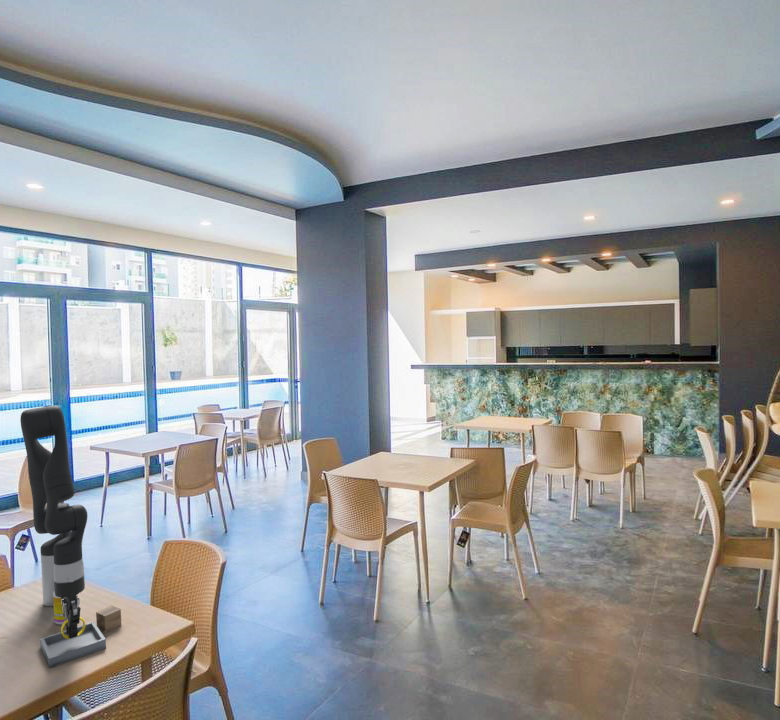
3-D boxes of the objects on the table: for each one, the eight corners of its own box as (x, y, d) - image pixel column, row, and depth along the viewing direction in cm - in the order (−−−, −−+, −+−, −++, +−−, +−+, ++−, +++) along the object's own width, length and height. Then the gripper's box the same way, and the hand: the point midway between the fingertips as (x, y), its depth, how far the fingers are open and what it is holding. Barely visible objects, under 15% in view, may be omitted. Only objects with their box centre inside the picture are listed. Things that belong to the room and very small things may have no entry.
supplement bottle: (67, 626, 170) (65, 585, 170) (49, 624, 171) (47, 584, 171) (83, 615, 176) (81, 576, 176) (65, 614, 178) (63, 575, 177)
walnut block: (96, 628, 168) (96, 612, 168) (112, 620, 173) (111, 605, 172) (105, 632, 166) (104, 616, 166) (121, 625, 170) (120, 609, 170)
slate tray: (40, 647, 158) (40, 638, 158) (94, 629, 167) (93, 621, 167) (49, 668, 148) (49, 658, 147) (106, 647, 157) (105, 639, 157)
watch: (63, 643, 155) (60, 623, 154) (61, 639, 157) (59, 619, 157) (86, 634, 158) (84, 614, 158) (85, 630, 161) (82, 611, 160)
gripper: (49, 572, 160) (52, 630, 160) (58, 587, 149) (62, 649, 150) (78, 565, 164) (81, 621, 165) (89, 579, 154) (92, 639, 154)
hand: (72, 634), depth 157 cm, fingers closed on watch, 2 cm apart
